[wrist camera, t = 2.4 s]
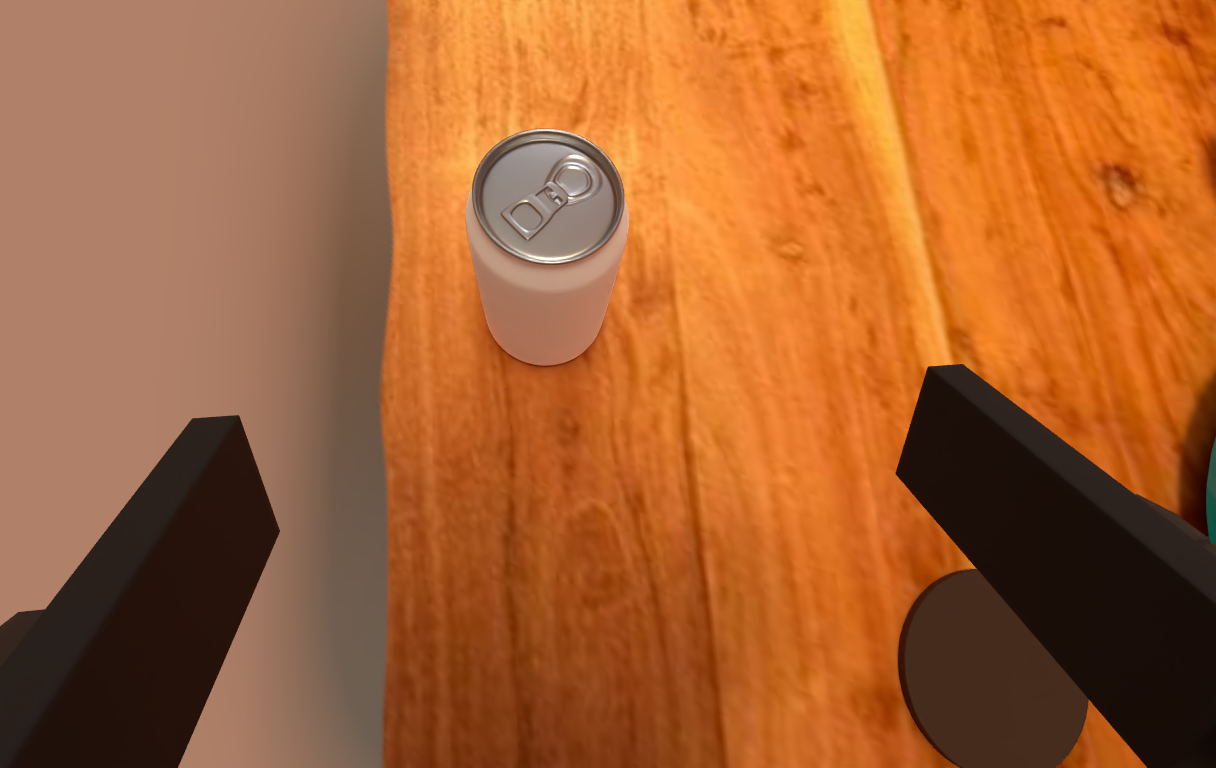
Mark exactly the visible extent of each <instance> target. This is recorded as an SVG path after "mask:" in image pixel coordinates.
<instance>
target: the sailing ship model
mask: <svg viewBox="0 0 1216 768" xmlns="http://www.w3.org/2000/svg"><path fill="white" fill-rule="evenodd" d="M1206 515H1207V524H1208V533H1209V539H1210V543H1211V544H1216V438H1215V442H1214V445H1213V449H1212V452H1211V459H1210V465H1209V472H1208V479H1207V489H1206Z"/></svg>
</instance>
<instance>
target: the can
mask: <svg viewBox="0 0 1216 768" xmlns="http://www.w3.org/2000/svg"><path fill="white" fill-rule="evenodd" d="M628 227H629V215H628V208H627V203H626V200H625V197H624V189H623V184H622V181H621V178H620V175H619V173H618V171H617V169H616V167H615V166H614V164H613V163H612V161H611V160H610V159H609V157H608V156H607V155H606V154H605V153H604V152H603V151H602V150H601V149H600V148H598V147H597V146H596V145H595V144H593V143H592V142H590V141H588V140H587V139H585V138H583V137H581V136H579V135H576V134H573V133H570V132H567V131H563V130H557V129H533V130H527V131H523V132H520V133H517V134H514V135H512V136H510V137H508V138H506V139H504V140H502V141H501V142H499V143H498V144H497V145H495V146H494V147H493V148H492V149H491V150H490V151H489V152H488V153H487V154H486V155H485V157H484V158H483V160H482V161H481V163H480V164H479V166H478V168H477V171H476V173H475V176H474V180H473V185H472V188H471V190H470V193H469V196H468V200H467V205H466V229H467V235H468V240H469V245H470V250H471V255H472V260H473V264H474V269H475V274H476V278H477V283H478V287H479V292H480V296H481V301H482V305H483V309H484V313H485V318H486V321H487V325H488V327H489V330H490V332H491V334H492V336H493V337H494V339H495V340H496V342H497V343H498V344H499V345H500V347H501V348H502V349H504V350H505V351H506V352H507V353H508V354H510V355H511V356H513V357H515V358H516V359H518V360H521V361H523V362H526V363H529V364H534V365H543V366H548V365H557V364H561V363H565V362H567V361H570V360H572V359H574V358H576V357H577V356H579V355H580V354H582V353H583V352H584V351H586V350H587V349H588V348H589V347H590V345H591V344H592V343H593V342H594V340H595V338H596V337H597V335H598V333H599V331H600V328H601V326H602V323H603V320H604V316H605V313H606V310H607V307H608V303H609V300H610V297H611V293H612V290H613V287H614V283H615V280H616V277H617V273H618V270H619V266H620V263H621V259H622V256H623V252H624V248H625V245H626V240H627V235H628Z"/></svg>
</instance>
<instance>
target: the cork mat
mask: <svg viewBox="0 0 1216 768" xmlns="http://www.w3.org/2000/svg"><path fill="white" fill-rule="evenodd" d="M899 672H900V680H901V684H902V689H903V693H904V696H905V699H906V702H907V705H908V707H909V709H910V712H911V714H912V716H913V718H914V720H915V722H916V723H917V725H918V727H919V728H920V730H921V732H922V733H923V734H924V735H925V737H926V738H927V739H928V741H929V742H930V743H931V744H932V745H933V746H934V747H935V748H936V749H937V750H938V751H939V752H940V753H941V754H942V755H943V756H944V757H946V758H947V759H948V760H949V761H951V762H952V763H954V764H955V765H957V766H959V767H960V768H1055V767H1056V766H1057V765H1058V764H1060V763H1061V762H1062V761H1063V760H1064V759H1065V758H1066V756H1067V755H1068V754H1069V753H1070V752H1071V750H1072V749H1073V747H1074V745H1075V744H1076V742H1077V740H1078V738H1079V736H1080V734H1081V732H1082V729H1083V726H1084V722H1085V719H1086V714H1087V709H1088V698H1087V697H1086V695H1085V694H1084V693H1083V692H1082V691H1081V690H1080V688H1079V687H1078V686H1077V685H1076V684H1075V683H1074V681H1073V680H1072V679H1071V678H1070V677H1069V676H1068V674H1067V673H1066V672H1065V671H1064V670H1063V669H1062V667H1061V666H1060V665H1059V664H1058V663H1057V662H1056V660H1055V659H1054V658H1053V657H1052V656H1051V655H1050V653H1049V652H1048V651H1047V650H1046V649H1045V648H1044V646H1043V645H1042V644H1041V643H1040V642H1039V641H1038V639H1037V638H1036V637H1035V636H1034V635H1033V634H1032V632H1031V631H1030V630H1029V629H1028V628H1027V627H1026V625H1025V624H1024V623H1023V622H1022V621H1021V620H1020V618H1019V617H1018V616H1017V615H1016V614H1015V613H1014V611H1013V610H1012V609H1011V608H1010V607H1009V606H1008V604H1007V603H1006V602H1005V601H1004V600H1003V599H1002V597H1001V596H1000V595H999V594H998V593H997V592H996V590H995V589H994V588H993V587H992V586H991V585H990V583H989V582H988V581H987V580H986V579H985V578H984V576H983V575H982V574H981V573H980V572H979V571H978V569H971V570H964V571H959V572H956V573H952V574H949V575H947V576H945V577H943V578H941V579H939V580H938V581H936V582H935V583H933V584H932V585H931V586H929V587H928V588H927V589H926V590H925V591H924V592H923V593H922V594H921V595H920V597H919V598H918V599H917V601H916V602H915V603H914V605H913V607H912V608H911V610H910V612H909V614H908V616H907V619H906V621H905V624H904V627H903V630H902V634H901V639H900V646H899Z"/></svg>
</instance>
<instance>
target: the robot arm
mask: <svg viewBox="0 0 1216 768" xmlns="http://www.w3.org/2000/svg"><path fill="white" fill-rule="evenodd" d="M896 475H897V476H898V477H899V479H900V480H901V481H902V482H903V483H904V484H905V486H906V487H907V488H908V489H909V490H910V491H911V493H912V494H913V495H914V496H915V497H916V498H917V500H918V501H919V502H920V503H921V504H922V505H923V507H924V508H925V509H926V510H927V511H928V512H929V514H930V515H931V516H932V517H933V518H934V519H935V521H936V522H937V523H938V524H939V525H940V526H941V528H942V529H943V530H944V531H945V532H946V533H947V535H948V536H949V537H950V538H951V539H952V540H953V542H954V543H955V544H956V545H957V546H958V547H959V548H960V550H961V551H962V552H963V553H964V554H965V555H966V557H967V558H968V559H969V560H970V561H971V562H972V564H973V565H974V566H975V567H976V568H977V569H978V571H979V572H980V573H981V574H982V575H983V576H984V578H985V579H986V580H987V581H988V582H989V583H990V585H991V586H992V587H993V588H994V589H995V590H996V592H997V593H998V594H999V595H1000V596H1001V597H1002V599H1003V600H1004V601H1005V602H1006V603H1007V604H1008V606H1009V607H1010V608H1011V609H1012V610H1013V611H1014V613H1015V614H1016V615H1017V616H1018V617H1019V618H1020V620H1021V621H1022V622H1023V623H1024V624H1025V625H1026V627H1027V628H1028V629H1029V630H1030V631H1031V632H1032V634H1033V635H1034V636H1035V637H1036V638H1037V639H1038V641H1039V642H1040V643H1041V644H1042V645H1043V646H1044V648H1045V649H1046V650H1047V651H1048V652H1049V653H1050V655H1051V656H1052V657H1053V658H1054V659H1055V660H1056V662H1057V663H1058V664H1059V665H1060V666H1061V667H1062V669H1063V670H1064V671H1065V672H1066V673H1067V674H1068V676H1069V677H1070V678H1071V679H1072V680H1073V681H1074V683H1075V684H1076V685H1077V686H1078V687H1079V688H1080V690H1081V691H1082V692H1083V693H1084V694H1085V695H1086V697H1087V698H1088V699H1089V700H1090V701H1091V702H1092V704H1093V705H1094V706H1095V707H1096V708H1097V709H1098V711H1099V712H1100V713H1101V714H1102V715H1103V716H1104V718H1105V719H1106V720H1107V721H1108V722H1109V723H1110V725H1111V726H1112V727H1113V728H1114V729H1115V730H1116V732H1117V733H1118V734H1119V735H1120V736H1121V737H1122V739H1123V740H1124V741H1125V742H1126V743H1127V744H1128V746H1129V747H1130V748H1131V749H1132V750H1133V751H1134V753H1135V754H1136V755H1137V756H1138V757H1139V758H1140V760H1141V761H1142V762H1143V763H1144V764H1145V765H1146V767H1147V768H1216V544H1211V543H1210V539H1209V538H1208V537H1207V536H1205V535H1204V534H1203V533H1201V532H1200V531H1199V530H1197V529H1196V528H1195V527H1193V526H1192V525H1190V524H1189V523H1188V522H1186V521H1185V520H1184V519H1182V518H1181V517H1180V516H1178V515H1177V514H1175V513H1173V512H1171V511H1169V510H1167V509H1165V508H1163V507H1161V506H1159V505H1157V504H1155V503H1153V502H1151V501H1149V500H1147V499H1145V498H1143V497H1142V496H1140V495H1138V494H1136V495H1135V494H1133V493H1132V492H1131V491H1129V490H1128V489H1127V488H1125V487H1124V486H1123V485H1121V484H1120V483H1119V482H1117V481H1116V480H1115V479H1114V478H1112V477H1111V476H1110V475H1108V474H1107V473H1106V472H1104V471H1103V470H1102V469H1100V468H1099V467H1098V466H1096V465H1095V464H1094V463H1092V462H1091V461H1090V460H1088V459H1087V458H1086V457H1084V456H1083V455H1082V454H1081V453H1079V452H1078V451H1077V450H1075V449H1074V448H1073V447H1071V446H1070V445H1069V444H1067V443H1066V442H1065V441H1063V440H1062V439H1061V438H1059V437H1058V436H1057V435H1055V434H1054V433H1053V432H1051V431H1050V430H1049V429H1048V428H1046V427H1045V426H1044V425H1042V424H1041V423H1040V422H1038V421H1037V420H1036V419H1034V418H1033V417H1032V416H1030V415H1029V414H1028V413H1026V412H1025V411H1024V410H1022V409H1021V408H1020V407H1018V406H1017V405H1016V404H1015V403H1013V402H1012V401H1011V400H1009V399H1008V398H1007V397H1005V396H1004V395H1003V394H1001V393H1000V392H999V391H997V390H996V389H995V388H993V387H992V386H991V385H989V384H988V383H987V382H985V381H984V380H983V379H982V378H980V377H979V376H978V375H976V374H975V373H974V372H972V371H971V370H970V369H968V368H967V367H966V366H964V365H963V364H958V365H944V366H929V367H928V368H927V371H926V375H925V378H924V381H923V385H922V388H921V391H920V394H919V398H918V401H917V404H916V408H915V411H914V414H913V418H912V421H911V424H910V427H909V431H908V434H907V437H906V441H905V444H904V447H903V451H902V454H901V457H900V460H899V464H898V467H897V470H896ZM279 532H280V530H279V527H278V524H277V522H276V519H275V516H274V513H273V510H272V507H271V504H270V502H269V499H268V496H267V494H266V490H265V487H264V485H263V482H262V479H261V476H260V474H259V470H258V468H257V465H256V462H255V459H254V456H253V453H252V451H251V448H250V445H249V442H248V439H247V436H246V434H245V431H244V428H243V425H242V422H241V420H240V417H239V415H237V416H236V415H235V416H221V417H207V418H194V419H192V420H191V421H190V422H189V424H188V425H187V426H186V427H185V429H184V430H183V431H182V433H181V434H180V435H179V436H178V438H177V439H176V440H175V442H174V443H173V444H172V446H171V447H170V448H169V449H168V451H167V452H166V453H165V455H164V456H163V457H162V459H161V460H160V461H159V462H158V464H157V465H156V466H155V468H154V469H153V470H152V472H151V473H150V474H149V475H148V477H147V478H146V479H145V481H144V482H143V483H142V484H141V486H140V487H139V488H138V490H137V491H136V492H135V494H134V495H133V496H132V497H131V499H130V500H129V501H128V503H127V504H126V505H125V507H124V508H123V509H122V510H121V512H120V513H119V514H118V516H117V517H116V518H115V520H114V521H113V522H112V523H111V525H110V526H109V527H108V529H107V530H106V531H105V532H104V534H103V535H102V537H101V538H100V539H99V540H98V542H97V543H96V544H95V546H94V547H93V548H92V549H91V551H90V552H89V553H88V555H87V556H86V557H85V558H84V560H83V561H82V562H81V564H80V565H79V566H78V568H77V569H76V570H75V571H74V573H73V574H72V575H71V577H70V578H69V579H68V580H67V582H66V583H65V584H64V586H63V587H62V588H61V590H60V591H59V592H58V593H57V595H56V596H55V597H54V599H53V600H52V601H51V603H50V604H49V605H48V606H47V608H46V609H45V610H35V611H25V612H18V613H17V614H15V615H14V616H13V617H12V618H10V619H9V620H8V621H6V622H5V623H4V624H3V625H1V626H0V768H178V766H179V764H180V762H181V759H182V757H183V755H184V752H185V750H186V748H187V745H188V743H189V741H190V738H191V736H192V734H193V732H194V729H195V727H196V725H197V722H198V720H199V718H200V715H201V713H202V711H203V708H204V706H205V704H206V701H207V699H208V697H209V694H210V692H211V690H212V688H213V685H214V683H215V680H216V678H217V676H218V674H219V671H220V669H221V667H222V664H223V662H224V659H225V657H226V655H227V653H228V650H229V648H230V646H231V643H232V641H233V639H234V637H235V634H236V632H237V630H238V627H239V625H240V623H241V620H242V618H243V616H244V613H245V611H246V609H247V606H248V604H249V602H250V600H251V597H252V595H253V593H254V590H255V588H256V586H257V583H258V581H259V579H260V576H261V574H262V572H263V569H264V567H265V565H266V562H267V560H268V558H269V556H270V553H271V551H272V549H273V546H274V544H275V541H276V539H277V537H278V535H279Z"/></svg>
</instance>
